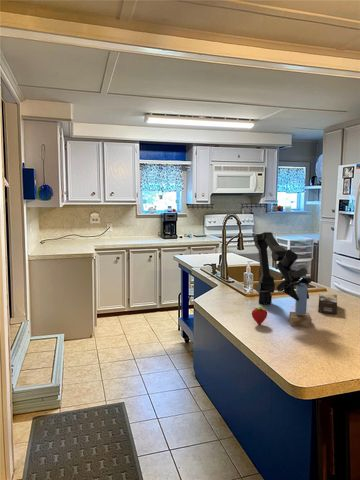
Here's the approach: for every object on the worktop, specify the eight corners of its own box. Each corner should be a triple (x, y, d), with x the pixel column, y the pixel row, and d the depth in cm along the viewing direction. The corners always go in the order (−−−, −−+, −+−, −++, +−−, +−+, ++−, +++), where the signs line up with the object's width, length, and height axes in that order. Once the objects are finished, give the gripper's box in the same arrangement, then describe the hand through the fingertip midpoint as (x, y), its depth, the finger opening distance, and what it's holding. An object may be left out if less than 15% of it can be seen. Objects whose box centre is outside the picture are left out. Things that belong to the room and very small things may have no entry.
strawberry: (249, 323, 174) (249, 302, 173) (263, 321, 176) (264, 301, 174) (254, 327, 168) (254, 306, 167) (269, 326, 170) (270, 305, 169)
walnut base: (290, 325, 170) (291, 317, 170) (289, 319, 179) (289, 311, 179) (311, 327, 169) (311, 319, 168) (308, 320, 177) (309, 312, 177)
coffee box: (318, 303, 205) (317, 312, 190) (319, 292, 204) (318, 300, 189) (336, 305, 201) (336, 314, 186) (337, 294, 200) (337, 302, 186)
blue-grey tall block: (296, 313, 171) (297, 284, 170) (295, 310, 176) (296, 282, 174) (306, 314, 171) (307, 285, 169) (304, 311, 175) (306, 282, 173)
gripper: (282, 264, 169) (299, 293, 161) (310, 260, 178) (327, 288, 170) (269, 277, 177) (285, 305, 169) (296, 273, 186) (313, 300, 178)
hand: (303, 299), depth 171 cm, fingers closed on blue-grey tall block, 6 cm apart
